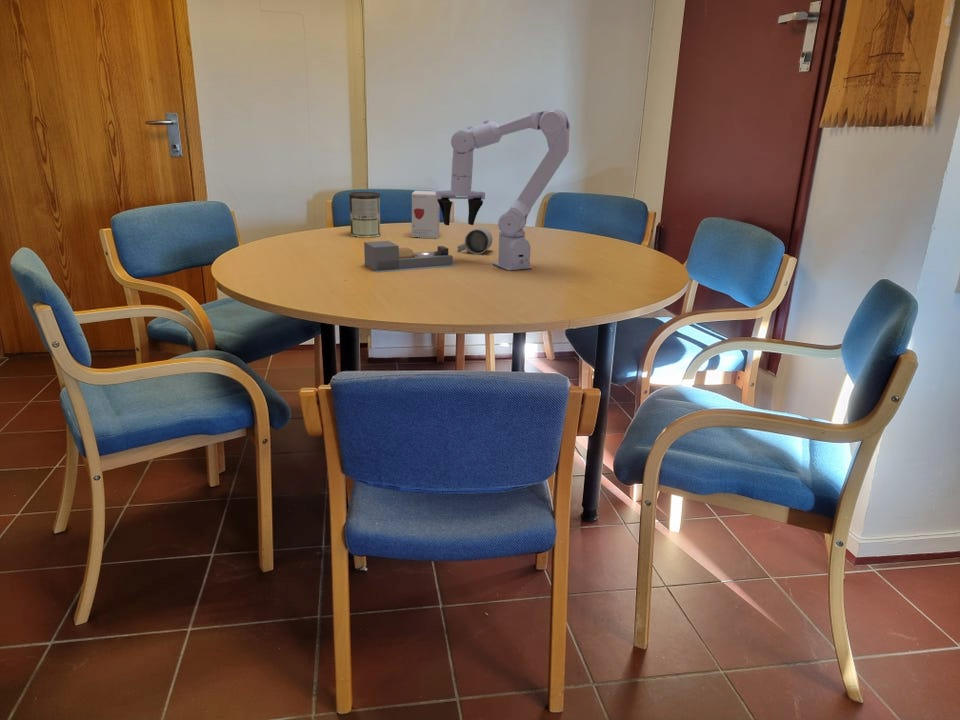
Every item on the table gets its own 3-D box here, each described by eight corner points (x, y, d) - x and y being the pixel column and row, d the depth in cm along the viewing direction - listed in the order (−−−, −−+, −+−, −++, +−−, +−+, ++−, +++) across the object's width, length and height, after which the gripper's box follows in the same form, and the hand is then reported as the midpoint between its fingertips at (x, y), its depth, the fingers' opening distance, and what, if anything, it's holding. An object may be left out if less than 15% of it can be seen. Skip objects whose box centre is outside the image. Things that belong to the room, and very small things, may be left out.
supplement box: (410, 238, 237) (410, 193, 232) (414, 233, 246) (414, 190, 241) (437, 238, 237) (437, 193, 232) (439, 234, 245) (440, 191, 240)
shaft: (448, 262, 197) (448, 248, 196) (416, 264, 193) (416, 250, 192) (442, 259, 201) (442, 245, 199) (411, 262, 196) (411, 247, 195)
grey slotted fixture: (458, 267, 195) (459, 243, 192) (376, 274, 184) (376, 248, 182) (441, 259, 205) (441, 236, 202) (362, 265, 194) (361, 240, 192)
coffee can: (344, 234, 240) (343, 192, 235) (370, 231, 247) (369, 191, 242) (360, 238, 233) (358, 195, 228) (386, 236, 239) (385, 194, 234)
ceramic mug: (493, 250, 220) (493, 225, 218) (488, 255, 213) (489, 229, 210) (460, 248, 222) (460, 224, 220) (454, 253, 215) (454, 228, 212)
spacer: (412, 266, 193) (412, 250, 191) (399, 267, 191) (398, 251, 189) (407, 263, 196) (407, 247, 194) (394, 264, 194) (393, 248, 193)
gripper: (478, 174, 200) (475, 221, 205) (432, 173, 194) (429, 222, 199) (489, 177, 195) (486, 226, 199) (442, 176, 188) (439, 226, 193)
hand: (458, 224), depth 199 cm, fingers open, 7 cm apart
